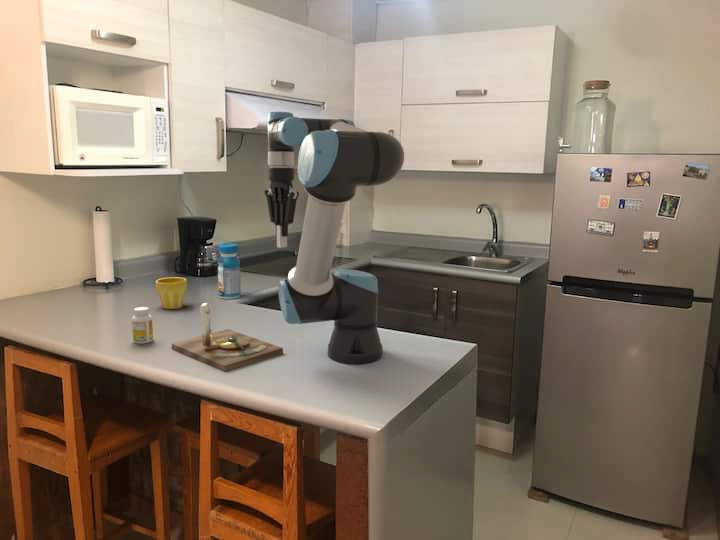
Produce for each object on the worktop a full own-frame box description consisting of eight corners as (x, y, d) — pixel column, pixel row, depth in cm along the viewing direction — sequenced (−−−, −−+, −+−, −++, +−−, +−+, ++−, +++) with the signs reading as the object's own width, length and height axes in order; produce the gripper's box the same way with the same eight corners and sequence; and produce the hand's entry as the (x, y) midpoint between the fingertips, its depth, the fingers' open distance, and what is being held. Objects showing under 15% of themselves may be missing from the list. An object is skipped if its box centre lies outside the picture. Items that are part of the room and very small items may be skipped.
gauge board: (282, 353, 160) (282, 347, 159) (225, 371, 146) (224, 364, 145) (228, 333, 176) (228, 328, 176) (171, 348, 162) (171, 342, 162)
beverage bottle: (233, 300, 216) (231, 247, 212) (214, 298, 219) (212, 245, 215) (245, 295, 224) (244, 244, 220) (226, 293, 227) (224, 242, 223)
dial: (253, 339, 166) (252, 296, 163) (244, 354, 153) (243, 308, 151) (208, 338, 166) (207, 295, 163) (196, 354, 153) (194, 307, 151)
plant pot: (157, 304, 209) (155, 277, 207) (187, 302, 212) (186, 276, 210) (156, 311, 199) (155, 283, 197) (188, 309, 202) (187, 282, 201)
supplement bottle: (146, 336, 172) (144, 305, 170) (156, 340, 169) (155, 308, 167) (129, 341, 168) (127, 308, 166) (139, 345, 165) (137, 312, 163)
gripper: (305, 167, 168) (306, 248, 172) (276, 166, 176) (277, 243, 181) (286, 167, 162) (287, 251, 167) (256, 166, 171) (258, 245, 175)
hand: (282, 246), depth 174 cm, fingers closed
